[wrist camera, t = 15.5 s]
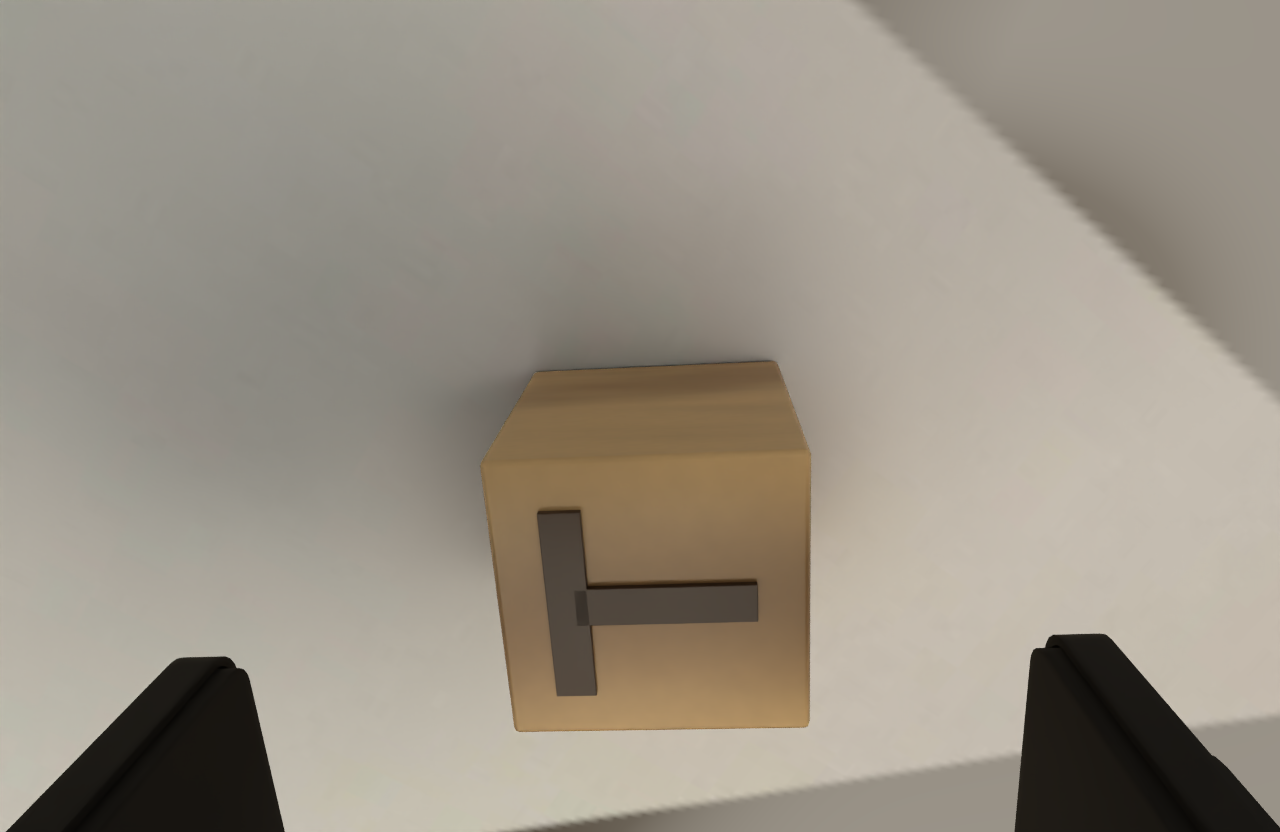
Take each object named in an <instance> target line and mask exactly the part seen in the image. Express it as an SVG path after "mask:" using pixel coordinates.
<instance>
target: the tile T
mask: <svg viewBox="0 0 1280 832" xmlns="http://www.w3.org/2000/svg"><path fill="white" fill-rule="evenodd" d="M480 469H481V477H482V485H483V492H484V500H485V507H486V515H487V523H488V530H489V538H490V545H491V553H492V561H493V568H494V576H495V583H496V591H497V599H498V606H499V614H500V622H501V629H502V637H503V644H504V652H505V660H506V667H507V675H508V682H509V690H510V698H511V705H512V713H513V720H514V727H515V729H516V731H519V732H539V731H604V730H670V729H735V728H800V727H807V726H808V724H809V721H810V536H811V453H810V450H809V447H808V445H807V442H806V439H805V437H804V434H803V431H802V429H801V426H800V423H799V420H798V418H797V415H796V412H795V410H794V407H793V404H792V402H791V399H790V396H789V393H788V391H787V388H786V385H785V383H784V380H783V377H782V375H781V372H780V369H779V367H778V364H777V362H774V361H768V362H746V363H723V364H701V365H678V366H656V367H633V368H611V369H588V370H566V371H543V372H536V373H534V375H533V376H532V378H531V380H530V381H529V383H528V385H527V386H526V388H525V390H524V391H523V393H522V395H521V396H520V398H519V400H518V401H517V403H516V405H515V406H514V408H513V410H512V411H511V413H510V415H509V416H508V418H507V420H506V421H505V423H504V425H503V426H502V428H501V430H500V432H499V433H498V435H497V437H496V438H495V440H494V442H493V443H492V445H491V447H490V448H489V450H488V452H487V453H486V455H485V457H484V458H483V460H482V462H481V465H480Z"/></svg>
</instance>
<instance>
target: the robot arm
mask: <svg viewBox="0 0 1280 832" xmlns="http://www.w3.org/2000/svg"><path fill="white" fill-rule="evenodd" d="M6 832H285V831H284V827H283V822H282V818H281V814H280V809H279V805H278V801H277V796H276V792H275V788H274V783H273V779H272V775H271V770H270V766H269V762H268V757H267V753H266V749H265V744H264V740H263V736H262V731H261V727H260V723H259V718H258V714H257V710H256V705H255V701H254V697H253V692H252V688H251V684H250V680H249V677H248V674H247V673H246V671H245V670H243V669H241V668H236V666H235V664H234V662H233V661H232V660H231V659H230V658H228V657H187V658H179V659H176V660H175V661H173V662H172V663H171V664H169V666H168V667H167V668H166V669H165V670H164V671H163V672H162V673H161V674H160V675H159V676H158V677H157V678H156V679H155V680H154V681H153V682H152V683H151V684H150V685H149V686H148V687H147V688H146V689H145V690H144V691H143V692H142V693H141V694H140V695H139V696H138V697H137V698H136V699H135V700H134V701H133V702H132V703H131V704H130V705H129V706H128V707H127V708H126V709H125V711H124V712H123V713H122V714H121V715H120V716H119V717H118V718H117V719H116V720H115V721H114V722H113V723H112V724H111V725H110V726H109V727H108V728H107V729H106V730H105V731H104V732H103V733H102V734H101V735H100V736H99V737H98V738H97V739H96V740H95V741H94V742H93V743H92V744H91V745H90V746H89V747H88V748H87V749H86V750H85V751H84V752H83V753H82V754H81V756H80V757H79V758H78V759H77V760H76V761H75V762H74V763H73V764H72V765H71V766H70V767H69V768H68V769H67V770H66V771H65V772H64V773H63V774H62V775H61V776H60V777H59V778H58V779H57V780H56V781H55V782H54V783H53V784H52V785H51V786H50V787H49V788H48V789H47V790H46V791H45V792H44V793H43V794H42V795H41V796H40V797H39V798H38V799H37V800H36V802H35V803H34V804H33V805H32V806H31V807H30V808H29V809H28V810H27V811H26V812H25V813H24V814H23V815H22V816H21V817H20V818H19V819H18V820H17V821H16V822H15V823H14V824H13V825H12V826H11V827H10V828H9V829H8V830H7V831H6ZM1015 832H1280V827H1279V826H1278V825H1277V824H1276V823H1275V822H1274V820H1273V819H1272V818H1271V817H1270V816H1269V815H1268V814H1267V813H1266V811H1265V810H1264V809H1263V808H1262V807H1261V806H1260V804H1259V803H1258V802H1257V801H1256V800H1255V799H1254V798H1253V796H1252V795H1251V794H1250V793H1249V792H1248V791H1247V789H1246V788H1245V787H1244V786H1243V785H1242V784H1241V783H1240V781H1239V780H1237V778H1236V777H1235V776H1234V775H1233V773H1232V772H1231V771H1230V770H1229V769H1228V768H1227V767H1226V766H1225V765H1224V764H1223V763H1222V762H1221V761H1220V760H1218V759H1217V758H1216V757H1215V756H1212V755H1211V754H1210V753H1209V752H1208V750H1207V749H1206V748H1205V747H1204V746H1203V745H1202V743H1201V742H1200V741H1199V740H1198V739H1197V738H1196V737H1195V735H1194V734H1193V733H1192V732H1191V731H1190V730H1189V728H1188V727H1187V726H1186V725H1185V724H1184V723H1183V721H1182V720H1181V719H1180V718H1179V717H1178V716H1177V715H1176V713H1175V712H1174V711H1173V710H1172V709H1171V708H1170V706H1169V705H1168V704H1167V703H1166V702H1165V701H1164V699H1163V698H1162V697H1161V696H1160V695H1159V694H1158V693H1157V691H1156V690H1155V689H1154V688H1153V687H1152V686H1151V684H1150V683H1149V682H1148V681H1147V680H1146V679H1145V678H1144V676H1143V675H1142V674H1141V673H1140V672H1139V671H1138V669H1137V668H1136V667H1135V666H1134V665H1133V664H1132V662H1131V661H1130V660H1129V659H1128V658H1127V657H1126V656H1125V654H1124V653H1123V652H1122V651H1121V650H1120V649H1119V647H1118V646H1117V645H1116V644H1115V643H1114V642H1113V640H1112V639H1110V638H1109V637H1108V636H1107V635H1105V634H1069V635H1052V636H1051V637H1049V639H1048V641H1047V643H1046V647H1045V648H1036V649H1034V650H1033V652H1032V654H1031V659H1030V669H1029V680H1028V691H1027V702H1026V713H1025V723H1024V734H1023V745H1022V756H1021V768H1020V779H1019V789H1018V800H1017V811H1016V822H1015Z"/></svg>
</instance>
